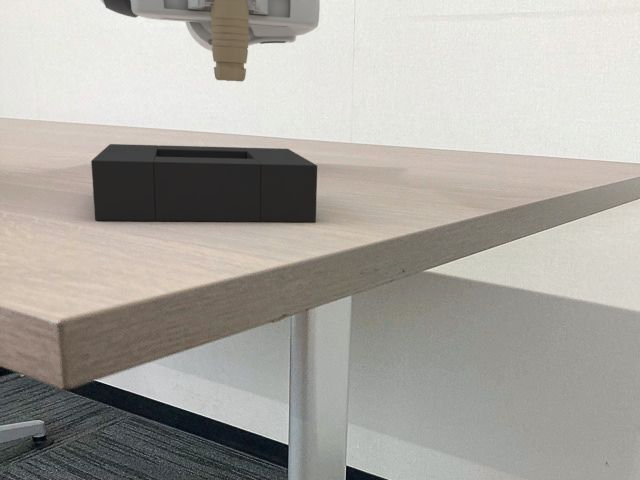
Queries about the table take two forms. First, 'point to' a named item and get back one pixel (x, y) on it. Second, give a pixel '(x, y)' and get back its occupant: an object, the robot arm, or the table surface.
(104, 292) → the table surface
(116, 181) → the black slotted base
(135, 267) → the table surface
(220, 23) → the handle
